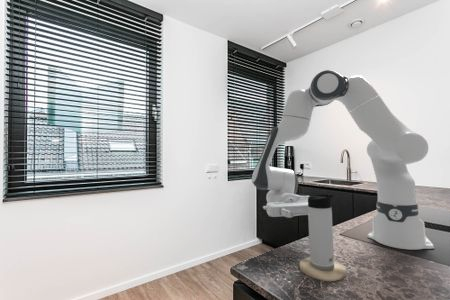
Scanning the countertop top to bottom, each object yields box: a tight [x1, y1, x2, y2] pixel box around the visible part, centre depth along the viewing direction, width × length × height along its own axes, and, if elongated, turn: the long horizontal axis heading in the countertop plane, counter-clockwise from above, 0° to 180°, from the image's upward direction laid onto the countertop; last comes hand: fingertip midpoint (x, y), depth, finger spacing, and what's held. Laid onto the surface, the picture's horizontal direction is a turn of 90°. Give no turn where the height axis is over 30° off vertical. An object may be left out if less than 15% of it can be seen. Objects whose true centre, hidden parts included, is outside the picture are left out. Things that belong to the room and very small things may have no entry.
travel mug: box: [307, 193, 335, 271], centre depth 65 cm, size 6×7×20 cm
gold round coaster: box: [299, 256, 347, 282], centre depth 65 cm, size 12×12×1 cm
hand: (305, 213), depth 74 cm, fingers open, 8 cm apart
